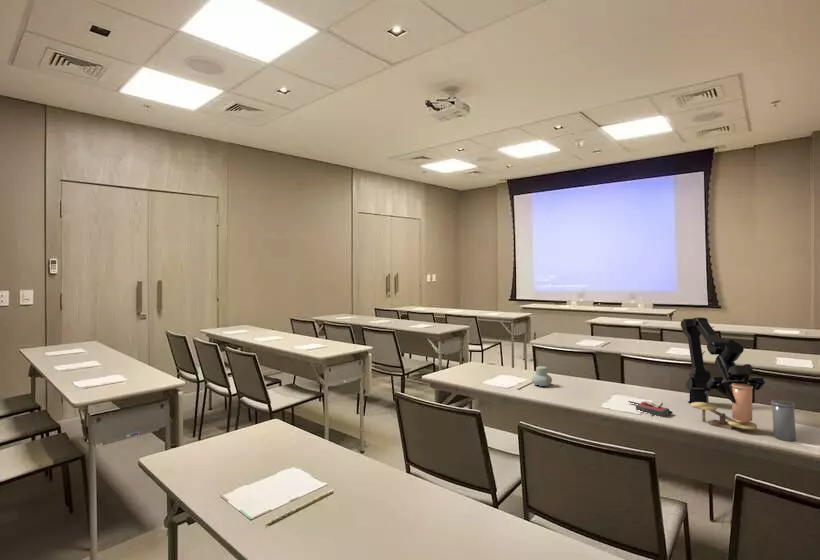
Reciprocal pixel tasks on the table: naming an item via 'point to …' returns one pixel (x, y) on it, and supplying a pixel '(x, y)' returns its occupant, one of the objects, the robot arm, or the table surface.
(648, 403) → the walkie-talkie
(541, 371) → the air freshener
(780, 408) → the charcoal cup
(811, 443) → the table surface
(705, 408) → the balance
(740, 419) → the terracotta cup
